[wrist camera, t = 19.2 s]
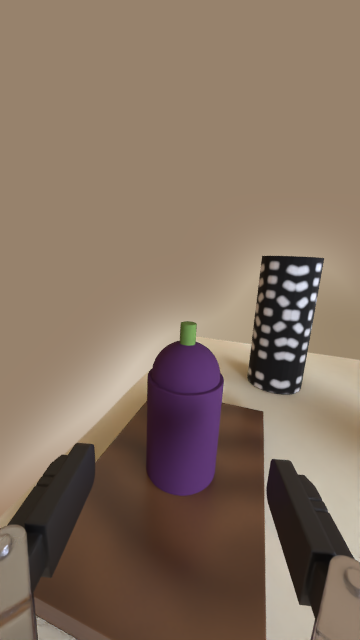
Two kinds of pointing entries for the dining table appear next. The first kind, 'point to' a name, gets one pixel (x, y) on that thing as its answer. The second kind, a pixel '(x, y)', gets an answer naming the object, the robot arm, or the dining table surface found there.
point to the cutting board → (166, 547)
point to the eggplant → (183, 415)
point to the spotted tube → (283, 322)
